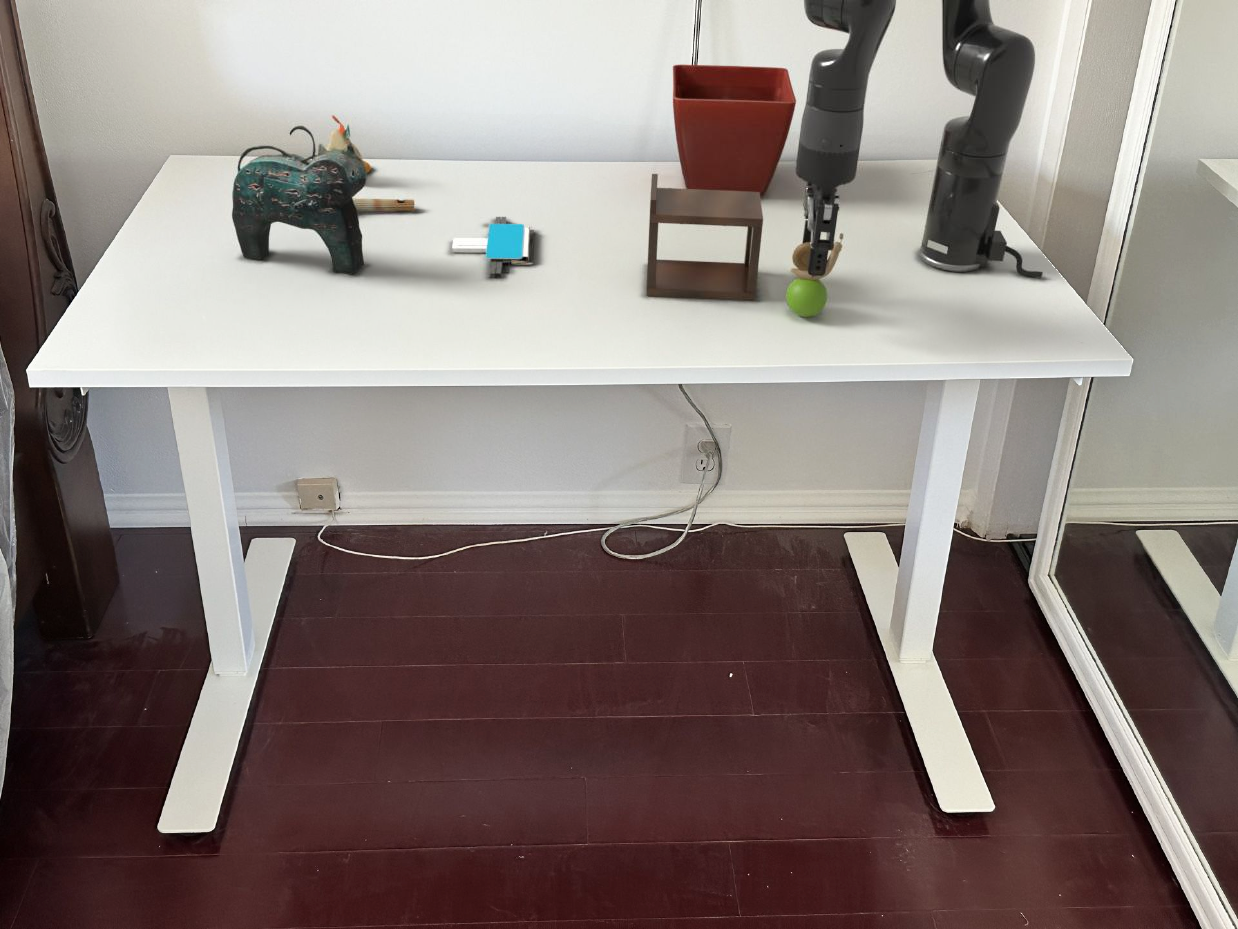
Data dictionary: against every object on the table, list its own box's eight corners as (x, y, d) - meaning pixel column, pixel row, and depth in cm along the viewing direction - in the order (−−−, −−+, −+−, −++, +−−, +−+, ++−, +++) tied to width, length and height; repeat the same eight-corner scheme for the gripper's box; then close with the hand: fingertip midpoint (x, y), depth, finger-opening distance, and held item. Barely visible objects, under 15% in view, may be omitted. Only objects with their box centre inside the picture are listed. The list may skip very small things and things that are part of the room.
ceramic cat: (378, 264, 168) (364, 126, 156) (358, 283, 162) (342, 142, 151) (254, 245, 172) (231, 109, 160) (230, 263, 167) (205, 124, 155)
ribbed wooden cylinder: (283, 188, 181) (414, 192, 184) (285, 205, 183) (414, 209, 185) (280, 198, 178) (413, 202, 181) (282, 215, 180) (413, 218, 182)
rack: (751, 270, 169) (760, 177, 161) (754, 300, 161) (764, 204, 153) (647, 266, 169) (652, 173, 161) (646, 296, 161) (650, 199, 153)
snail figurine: (830, 326, 155) (843, 243, 148) (782, 321, 156) (792, 237, 149) (832, 308, 160) (844, 226, 153) (785, 303, 161) (795, 221, 154)
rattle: (391, 179, 194) (385, 110, 188) (348, 190, 190) (341, 121, 183) (366, 166, 199) (359, 99, 192) (324, 177, 194) (315, 109, 187)
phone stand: (457, 220, 181) (457, 210, 180) (534, 221, 181) (534, 211, 181) (447, 277, 164) (447, 266, 164) (532, 278, 165) (532, 267, 164)
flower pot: (667, 160, 205) (672, 62, 195) (777, 164, 204) (787, 66, 195) (667, 202, 189) (672, 98, 180) (785, 206, 189) (797, 102, 179)
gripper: (867, 161, 138) (847, 286, 148) (853, 122, 150) (836, 240, 159) (804, 158, 138) (788, 282, 148) (795, 119, 150) (781, 237, 159)
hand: (813, 260), depth 153 cm, fingers open, 8 cm apart
